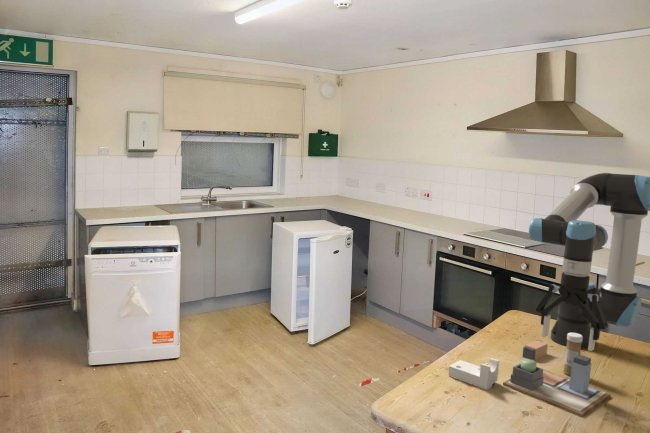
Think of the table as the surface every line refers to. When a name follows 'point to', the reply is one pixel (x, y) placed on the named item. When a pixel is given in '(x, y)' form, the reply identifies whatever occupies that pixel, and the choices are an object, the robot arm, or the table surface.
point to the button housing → (527, 378)
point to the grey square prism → (580, 373)
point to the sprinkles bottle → (572, 350)
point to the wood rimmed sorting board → (563, 394)
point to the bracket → (476, 373)
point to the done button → (528, 365)
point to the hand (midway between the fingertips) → (567, 342)
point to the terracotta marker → (534, 350)
